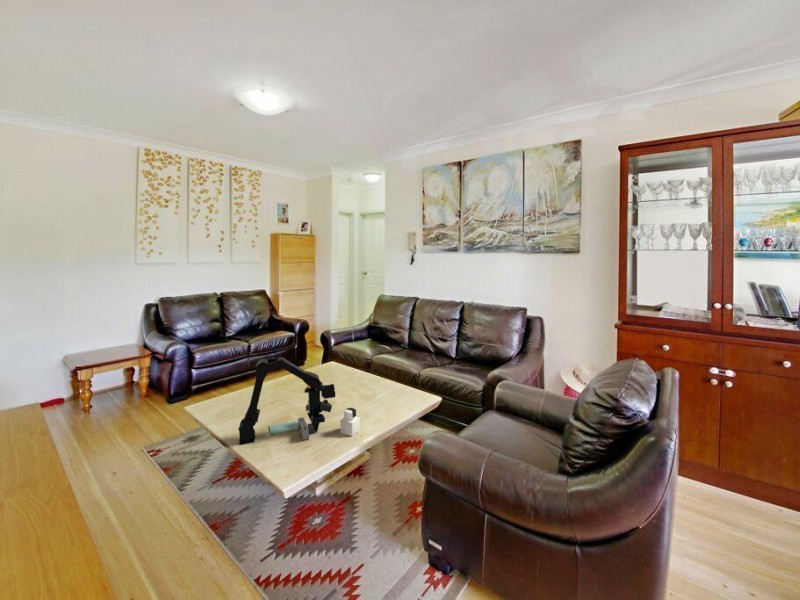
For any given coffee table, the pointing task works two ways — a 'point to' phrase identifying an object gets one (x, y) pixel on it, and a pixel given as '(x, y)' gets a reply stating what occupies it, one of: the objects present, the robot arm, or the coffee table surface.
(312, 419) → the robot arm
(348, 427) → the medicine bottle
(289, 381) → the coffee table surface
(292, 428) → the mat
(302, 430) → the housing
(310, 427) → the plug
